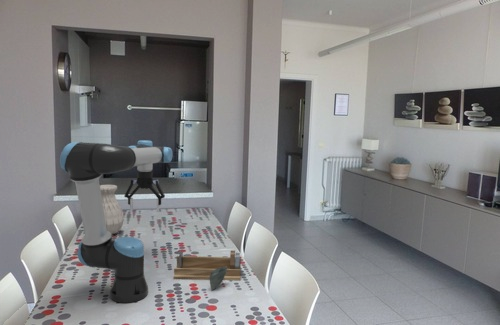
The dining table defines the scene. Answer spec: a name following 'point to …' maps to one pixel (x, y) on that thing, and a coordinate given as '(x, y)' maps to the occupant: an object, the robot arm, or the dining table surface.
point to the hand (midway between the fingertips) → (144, 211)
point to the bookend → (181, 259)
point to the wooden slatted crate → (208, 267)
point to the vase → (111, 208)
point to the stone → (217, 277)
